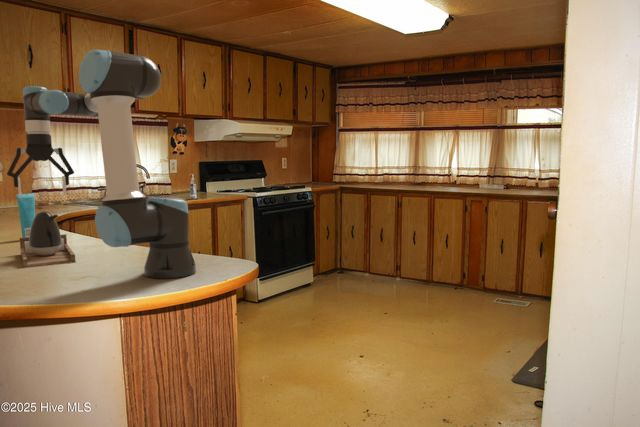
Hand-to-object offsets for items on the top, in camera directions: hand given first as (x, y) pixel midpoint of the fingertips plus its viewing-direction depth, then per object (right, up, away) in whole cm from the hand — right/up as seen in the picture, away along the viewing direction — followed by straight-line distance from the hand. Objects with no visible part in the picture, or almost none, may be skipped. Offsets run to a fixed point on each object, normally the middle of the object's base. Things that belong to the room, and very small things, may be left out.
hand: (43, 195), depth 181 cm
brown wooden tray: (+1, -22, +1) cm, 22 cm away
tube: (-26, -17, +38) cm, 49 cm away
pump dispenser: (0, -21, +3) cm, 21 cm away
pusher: (-5, -19, +10) cm, 22 cm away
